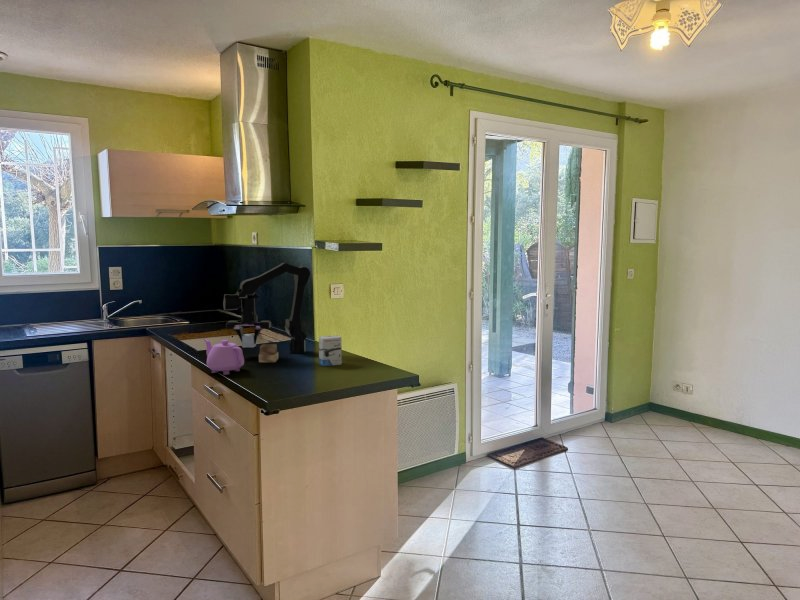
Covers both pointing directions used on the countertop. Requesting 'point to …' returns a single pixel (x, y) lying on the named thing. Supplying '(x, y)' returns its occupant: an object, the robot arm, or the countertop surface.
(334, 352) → the ink box
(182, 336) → the countertop surface
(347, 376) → the countertop surface
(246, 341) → the pale blue cube
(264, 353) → the walnut mid slab
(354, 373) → the countertop surface
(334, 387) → the countertop surface
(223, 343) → the teapot
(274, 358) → the oak base slab
